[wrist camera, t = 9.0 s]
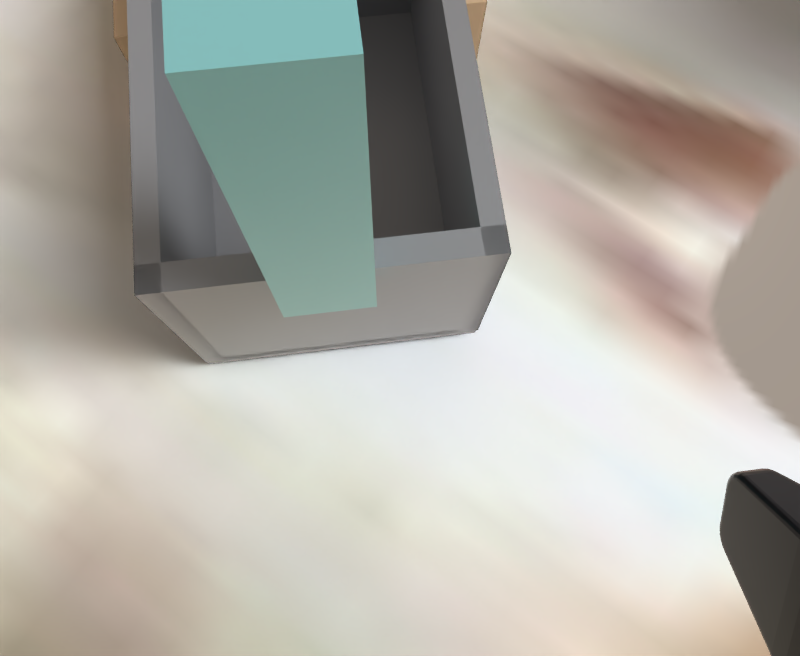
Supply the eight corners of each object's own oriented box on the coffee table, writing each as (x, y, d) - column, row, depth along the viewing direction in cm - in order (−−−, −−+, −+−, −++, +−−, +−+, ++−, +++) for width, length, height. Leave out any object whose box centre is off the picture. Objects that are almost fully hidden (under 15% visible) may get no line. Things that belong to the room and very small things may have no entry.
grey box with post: (480, 353, 19) (647, 25, 7) (209, 386, 19) (-139, 103, 6) (424, 8, 22) (469, -657, 10) (189, 31, 22) (-74, -630, 9)
